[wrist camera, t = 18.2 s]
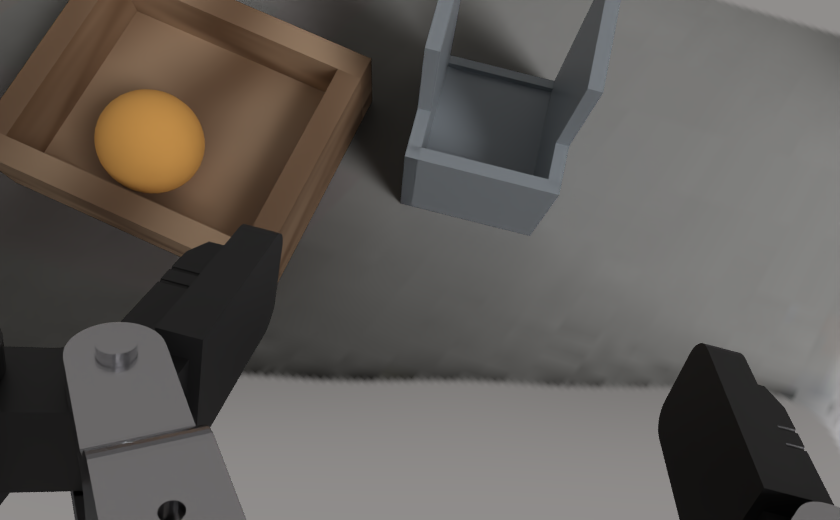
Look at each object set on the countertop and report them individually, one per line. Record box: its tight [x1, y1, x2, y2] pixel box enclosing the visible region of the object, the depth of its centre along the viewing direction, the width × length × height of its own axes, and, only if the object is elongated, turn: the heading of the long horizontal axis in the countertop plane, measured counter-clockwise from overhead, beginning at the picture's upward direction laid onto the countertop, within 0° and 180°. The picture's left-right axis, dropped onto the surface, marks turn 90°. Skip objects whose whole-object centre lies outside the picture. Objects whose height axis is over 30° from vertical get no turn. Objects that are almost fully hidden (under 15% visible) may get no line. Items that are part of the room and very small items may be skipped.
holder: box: [401, 0, 621, 236], centre depth 26 cm, size 7×6×9 cm
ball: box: [94, 89, 205, 193], centre depth 26 cm, size 4×4×4 cm
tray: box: [0, 0, 372, 281], centre depth 28 cm, size 12×10×4 cm
